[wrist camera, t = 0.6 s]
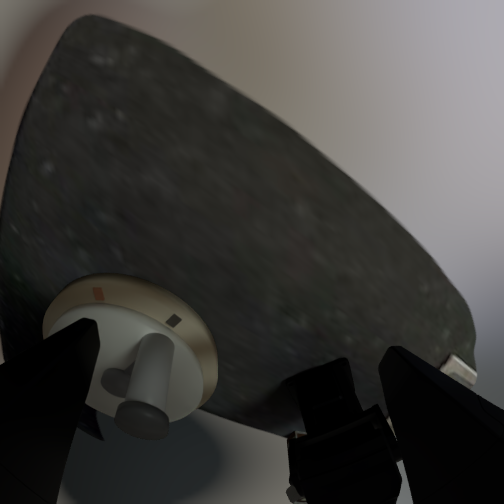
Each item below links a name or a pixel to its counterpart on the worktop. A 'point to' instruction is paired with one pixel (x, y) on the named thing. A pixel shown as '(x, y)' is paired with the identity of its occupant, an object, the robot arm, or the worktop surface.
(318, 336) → the worktop surface
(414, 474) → the robot arm
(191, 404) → the dial
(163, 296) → the dial base
